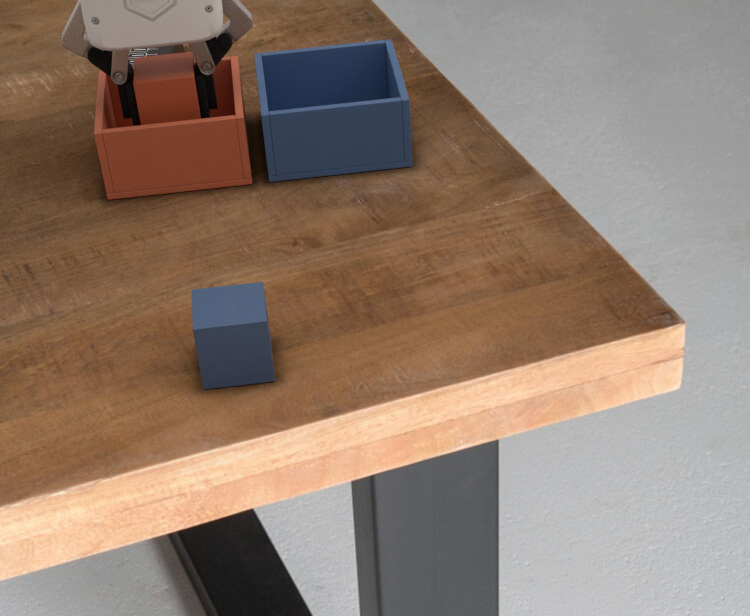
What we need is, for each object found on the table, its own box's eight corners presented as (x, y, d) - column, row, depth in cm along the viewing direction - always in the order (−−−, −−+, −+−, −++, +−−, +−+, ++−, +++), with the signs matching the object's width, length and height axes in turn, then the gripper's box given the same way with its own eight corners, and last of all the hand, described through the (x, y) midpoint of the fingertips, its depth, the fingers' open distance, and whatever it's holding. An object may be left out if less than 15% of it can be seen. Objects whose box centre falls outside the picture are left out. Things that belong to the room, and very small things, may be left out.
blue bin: (269, 182, 109) (260, 115, 105) (261, 117, 117) (253, 53, 114) (412, 166, 110) (409, 99, 106) (395, 103, 118) (391, 38, 114)
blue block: (203, 390, 90) (192, 329, 87) (201, 349, 93) (191, 289, 90) (275, 381, 90) (267, 321, 87) (271, 341, 93) (263, 281, 90)
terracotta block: (143, 139, 109) (132, 82, 106) (144, 113, 113) (133, 57, 109) (202, 133, 109) (194, 76, 106) (201, 107, 113) (193, 51, 110)
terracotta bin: (107, 200, 109) (93, 133, 105) (111, 133, 117) (98, 69, 113) (252, 184, 109) (243, 117, 105) (246, 119, 117) (237, 55, 114)
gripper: (5, -95, 95) (62, 155, 108) (254, -120, 96) (282, 131, 108) (13, -130, 101) (67, 111, 113) (249, -154, 101) (277, 89, 114)
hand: (172, 119), depth 111 cm, fingers closed on terracotta block, 4 cm apart
